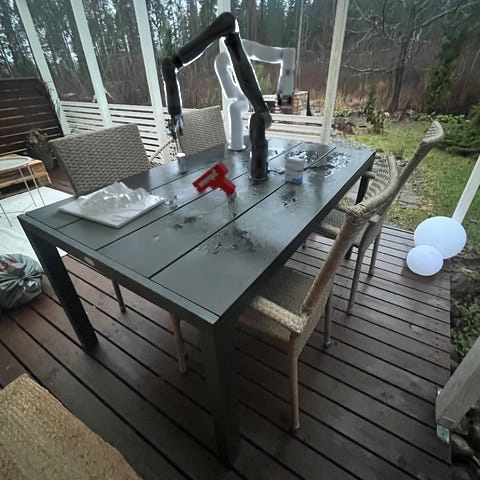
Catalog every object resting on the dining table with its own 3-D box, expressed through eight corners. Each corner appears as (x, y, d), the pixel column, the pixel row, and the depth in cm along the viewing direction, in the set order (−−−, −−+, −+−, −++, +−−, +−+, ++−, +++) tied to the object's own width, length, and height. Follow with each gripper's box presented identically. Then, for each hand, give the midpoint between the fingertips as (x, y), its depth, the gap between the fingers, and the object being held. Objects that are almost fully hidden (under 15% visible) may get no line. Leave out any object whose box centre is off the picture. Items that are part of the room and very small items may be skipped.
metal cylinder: (183, 170, 160) (181, 153, 155) (188, 171, 158) (186, 154, 152) (177, 172, 157) (175, 155, 152) (182, 173, 155) (180, 156, 150)
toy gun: (240, 187, 127) (221, 160, 123) (237, 190, 124) (218, 163, 120) (214, 205, 137) (195, 180, 133) (210, 208, 134) (191, 183, 130)
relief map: (117, 228, 103) (114, 216, 100) (59, 210, 116) (54, 199, 113) (165, 201, 123) (163, 190, 120) (110, 188, 136) (107, 178, 134)
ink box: (302, 181, 142) (305, 159, 136) (297, 184, 139) (300, 161, 133) (289, 177, 147) (291, 156, 141) (284, 180, 144) (285, 158, 138)
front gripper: (173, 102, 144) (177, 134, 153) (160, 105, 133) (165, 140, 142) (186, 102, 143) (189, 135, 152) (174, 106, 131) (179, 140, 140)
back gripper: (291, 72, 168) (288, 103, 177) (272, 73, 158) (270, 105, 167) (301, 73, 163) (297, 104, 173) (282, 73, 153) (280, 107, 163)
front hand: (178, 137), depth 147 cm, fingers open, 8 cm apart
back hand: (284, 105), depth 170 cm, fingers open, 9 cm apart
